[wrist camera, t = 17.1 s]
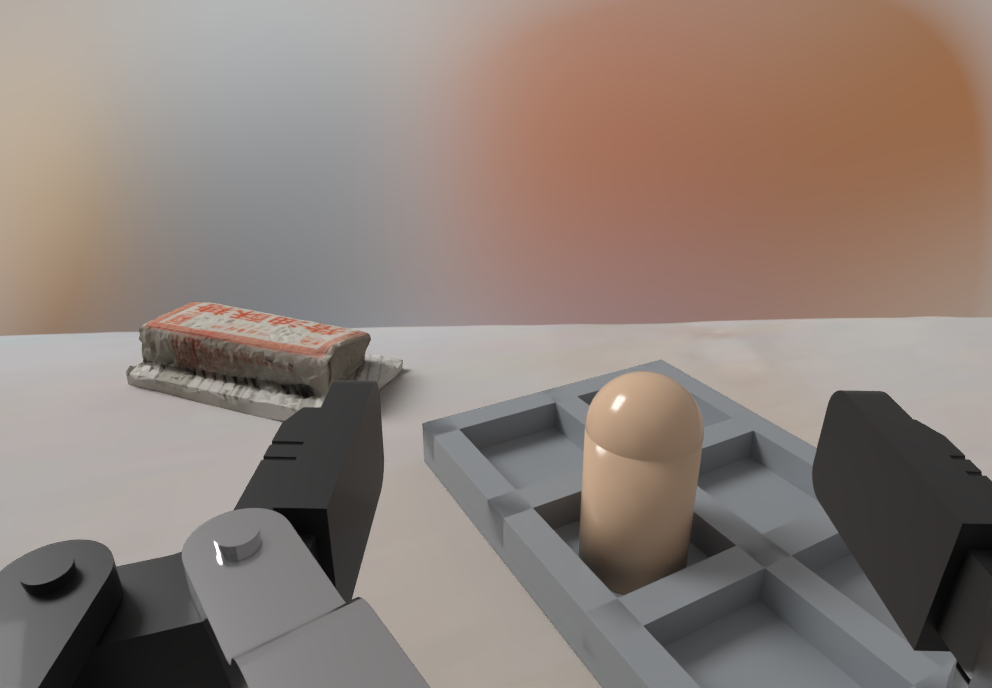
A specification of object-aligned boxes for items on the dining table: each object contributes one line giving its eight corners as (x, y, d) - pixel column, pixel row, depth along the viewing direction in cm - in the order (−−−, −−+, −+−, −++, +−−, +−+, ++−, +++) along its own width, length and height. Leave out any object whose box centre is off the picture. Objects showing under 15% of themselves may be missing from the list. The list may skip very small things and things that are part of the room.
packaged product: (107, 329, 48) (210, 286, 57) (123, 390, 50) (219, 339, 59) (323, 372, 42) (402, 316, 51) (331, 439, 44) (405, 374, 53)
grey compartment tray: (424, 460, 41) (422, 423, 40) (657, 392, 49) (661, 359, 48) (772, 903, 20) (787, 850, 19) (1083, 661, 28) (1107, 613, 27)
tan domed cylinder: (557, 543, 33) (564, 367, 30) (638, 511, 36) (654, 344, 32) (622, 611, 29) (640, 418, 26) (709, 571, 32) (737, 387, 28)
